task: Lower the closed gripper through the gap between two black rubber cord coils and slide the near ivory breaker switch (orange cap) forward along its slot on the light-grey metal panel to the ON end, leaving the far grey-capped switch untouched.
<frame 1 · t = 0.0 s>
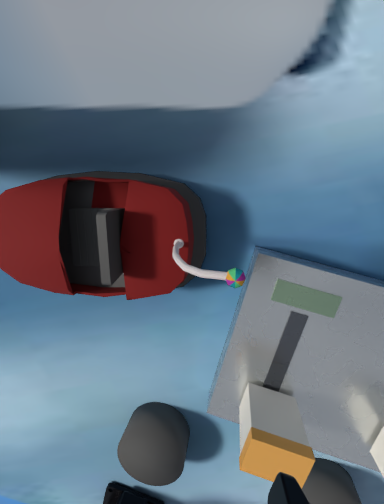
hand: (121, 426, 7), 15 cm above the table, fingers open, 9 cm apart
panel: (338, 356, 21), on the table
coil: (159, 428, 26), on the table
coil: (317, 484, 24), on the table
bumper car: (122, 232, 22), on the table
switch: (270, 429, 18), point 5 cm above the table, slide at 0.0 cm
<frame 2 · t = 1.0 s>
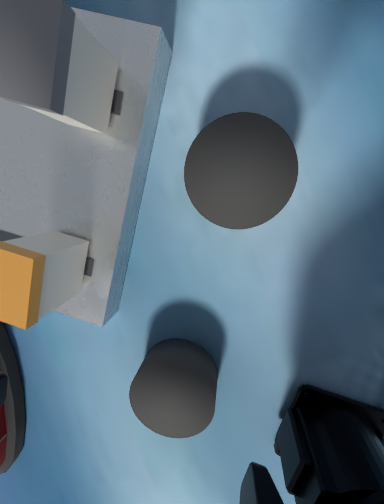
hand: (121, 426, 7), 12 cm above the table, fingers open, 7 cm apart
panel: (50, 171, 19), on the table
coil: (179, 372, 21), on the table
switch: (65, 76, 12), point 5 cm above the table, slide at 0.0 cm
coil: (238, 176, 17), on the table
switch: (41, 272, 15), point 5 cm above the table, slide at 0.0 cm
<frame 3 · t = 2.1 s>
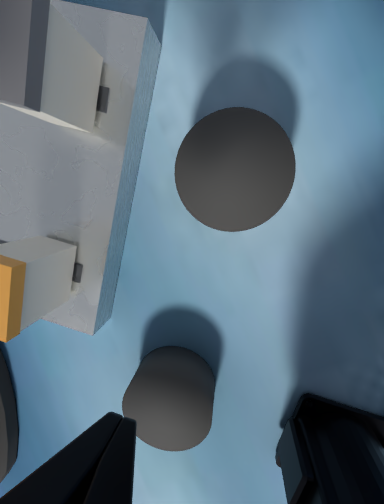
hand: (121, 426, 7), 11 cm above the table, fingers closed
panel: (37, 173, 18), on the table
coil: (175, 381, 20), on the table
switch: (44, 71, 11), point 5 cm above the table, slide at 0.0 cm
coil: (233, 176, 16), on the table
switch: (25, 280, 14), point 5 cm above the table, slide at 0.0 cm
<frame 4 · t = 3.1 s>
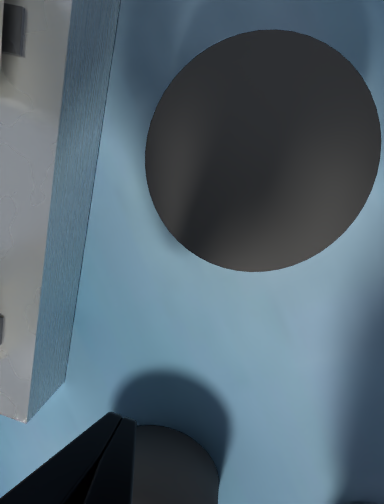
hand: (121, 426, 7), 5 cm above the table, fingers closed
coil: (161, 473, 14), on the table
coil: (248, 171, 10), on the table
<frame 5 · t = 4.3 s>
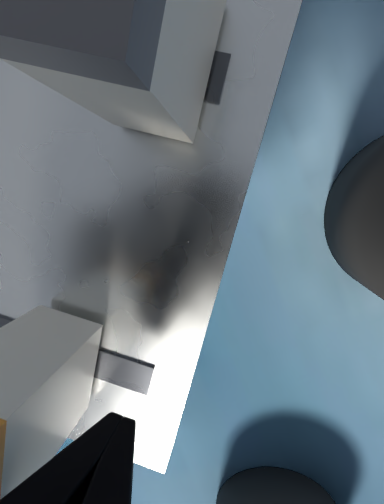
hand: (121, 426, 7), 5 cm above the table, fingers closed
panel: (70, 205, 11), on the table
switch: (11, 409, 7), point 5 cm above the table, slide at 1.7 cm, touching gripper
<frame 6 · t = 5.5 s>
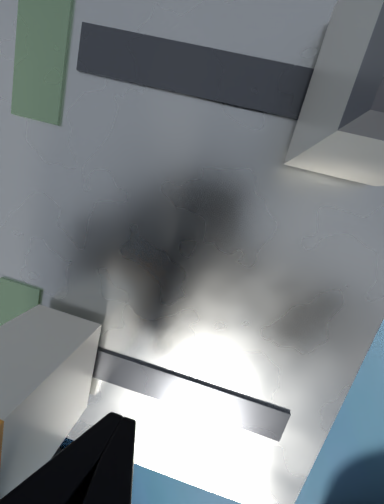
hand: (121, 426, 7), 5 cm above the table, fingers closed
panel: (178, 234, 11), on the table
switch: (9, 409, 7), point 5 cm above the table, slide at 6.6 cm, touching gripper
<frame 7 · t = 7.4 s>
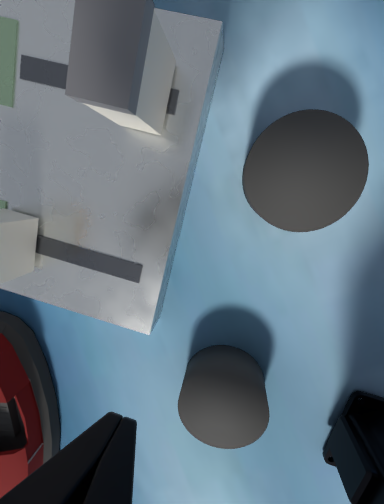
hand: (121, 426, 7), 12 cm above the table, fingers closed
panel: (91, 175, 18), on the table
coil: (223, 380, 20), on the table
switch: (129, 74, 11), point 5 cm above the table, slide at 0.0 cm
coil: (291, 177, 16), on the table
bumper car: (11, 380, 24), on the table
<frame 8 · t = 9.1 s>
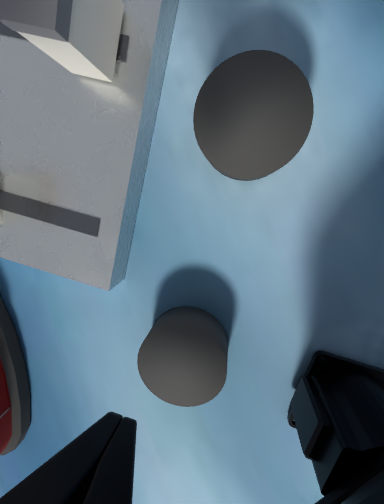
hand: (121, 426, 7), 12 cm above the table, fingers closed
panel: (53, 133, 18), on the table
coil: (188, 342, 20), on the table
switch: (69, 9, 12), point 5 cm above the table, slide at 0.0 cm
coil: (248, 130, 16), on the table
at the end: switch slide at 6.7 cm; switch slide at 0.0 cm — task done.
